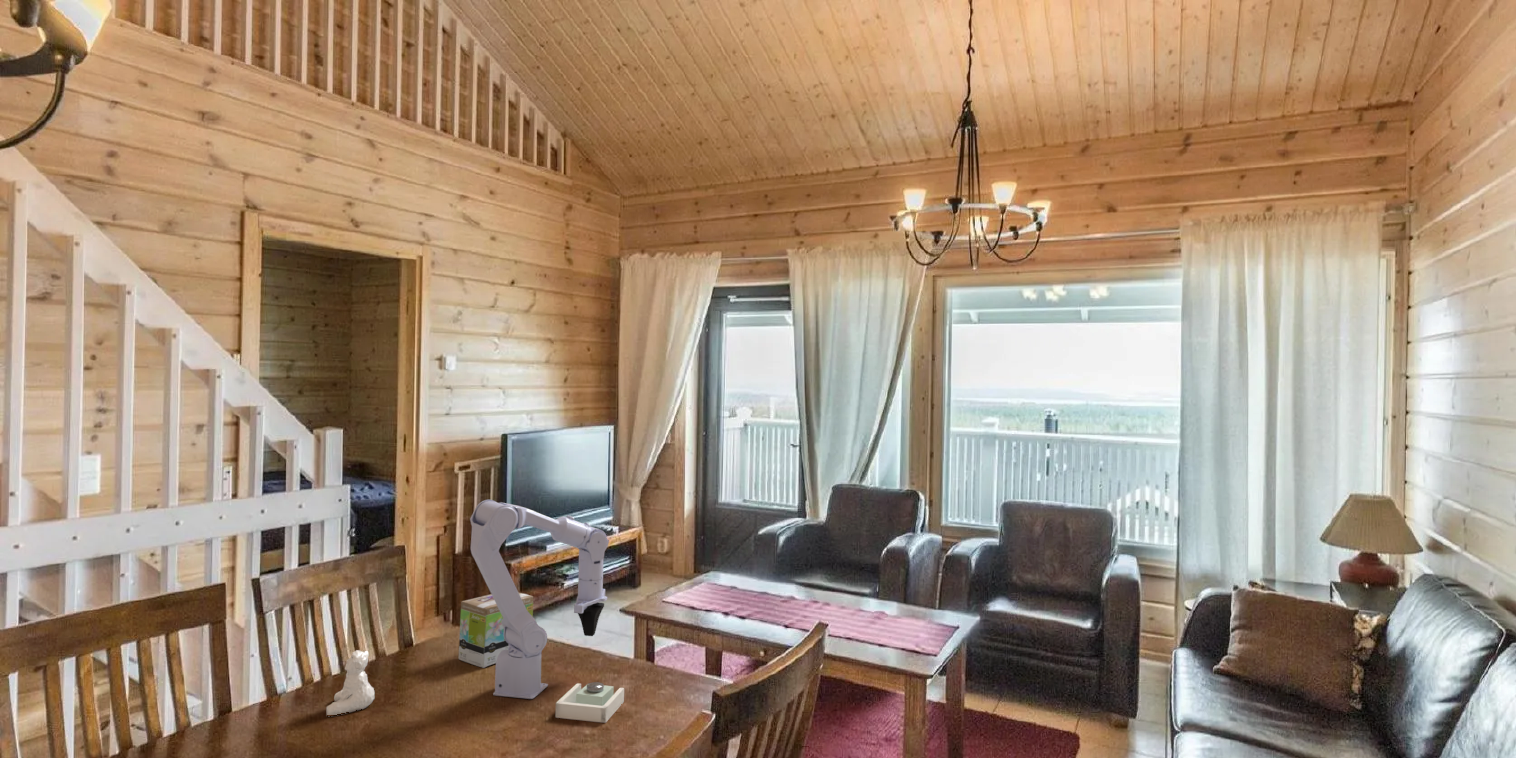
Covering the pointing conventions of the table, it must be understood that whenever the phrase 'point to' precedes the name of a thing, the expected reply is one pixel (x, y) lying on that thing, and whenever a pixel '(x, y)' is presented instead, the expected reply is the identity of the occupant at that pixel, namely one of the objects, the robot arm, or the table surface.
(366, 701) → the seated beast figurine
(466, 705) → the table surface
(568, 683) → the table surface
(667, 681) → the table surface
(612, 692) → the block
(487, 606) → the tea box
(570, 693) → the housing bay
